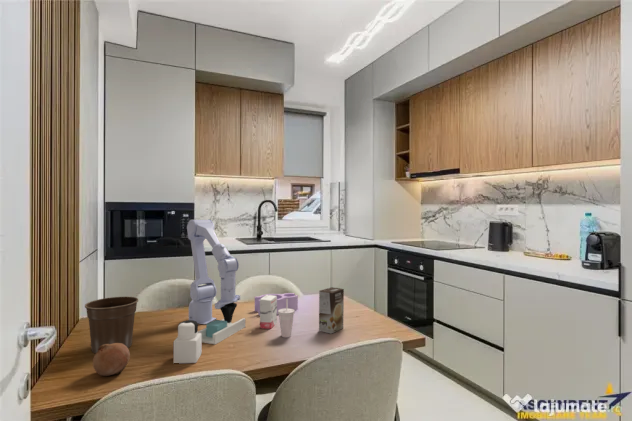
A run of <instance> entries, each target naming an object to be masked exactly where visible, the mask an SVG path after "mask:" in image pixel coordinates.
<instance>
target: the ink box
mask: <svg viewBox="0 0 632 421" xmlns="http://www.w3.org/2000/svg"><path fill="white" fill-rule="evenodd" d="M264 295H265V294H264ZM277 322H278V315H277V296H273V295H265V296H264V297H263V298H261V299H260V315H259V329H264V330H265V329H267V330H269V329H270V330H271V329H272V328H273V327H274V326H275V325H277Z"/></svg>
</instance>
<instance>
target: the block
mask: <svg viewBox="0 0 632 421" xmlns="http://www.w3.org/2000/svg"><path fill="white" fill-rule="evenodd" d="M205 326H206V327H205V328H206V337H213V334H214V333H216V332H218V331H220V330H222V329H224V328H225V327H227V321H222V319H220V320H219V319H216V320H213V321H211V322H209V323H207V324H205Z"/></svg>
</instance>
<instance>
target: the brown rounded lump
mask: <svg viewBox="0 0 632 421" xmlns="http://www.w3.org/2000/svg"><path fill="white" fill-rule="evenodd" d="M97 350H98V351H97V353H94V356H93V358H92V366H93V369H94V371H95V372H96V373H97V374H98V375H100V376H103V377H107V376H113V375H117V374H116V373H118V374H120V373H121V372H123V371H124V370H125V369H126V367H127V365H128V363H129V361H130V358H131V354H130V350H129V348H127V346H125V345H124V344H122V343H113V344H104V345H101V346H100V348H98V349H97ZM119 372H120V373H119Z"/></svg>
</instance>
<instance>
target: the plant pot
mask: <svg viewBox="0 0 632 421" xmlns="http://www.w3.org/2000/svg"><path fill="white" fill-rule="evenodd" d="M138 302H139V298H138V297H135V296H111V297H104V298H99V299H96V300H91V301H89V302H87V303H85V304H84V308H85V309H86V316H87V318H88V325H89V335H90V336H89V337H90V344H91V345H90V346H91V352H92V353H93V354H96V353H97V351H98V350H97V349H98V348H100V346H101V345H104V344H113V343H122V344H124V345H125V346H127V348H128V349H129V348H130V347H131V346H132V344H133V332H134V325H135V316H136V314H135V313H136V312H137V306H138Z"/></svg>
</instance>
